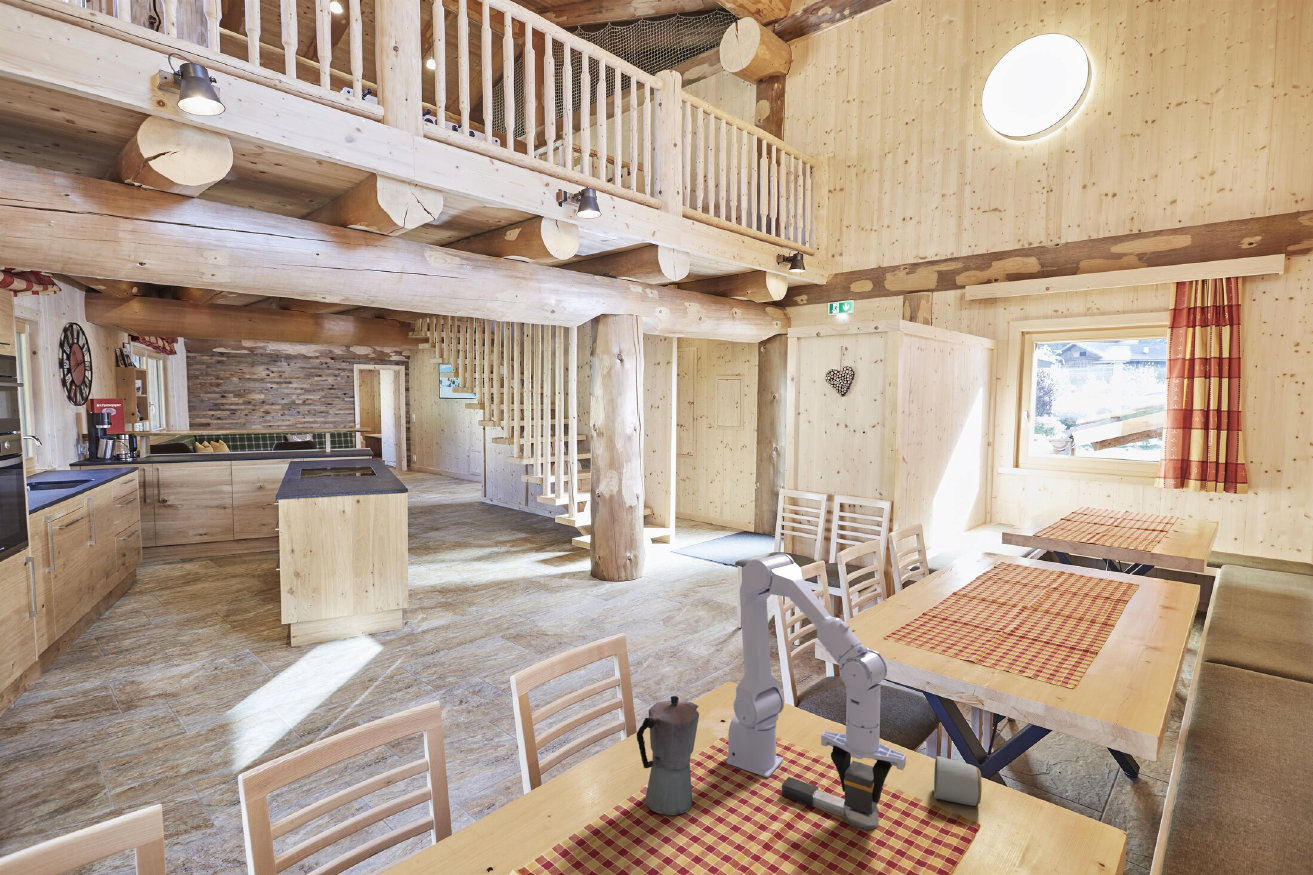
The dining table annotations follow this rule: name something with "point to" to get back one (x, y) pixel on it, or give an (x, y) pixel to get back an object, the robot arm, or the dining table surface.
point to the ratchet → (828, 803)
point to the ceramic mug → (957, 782)
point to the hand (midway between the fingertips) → (861, 794)
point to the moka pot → (669, 755)
